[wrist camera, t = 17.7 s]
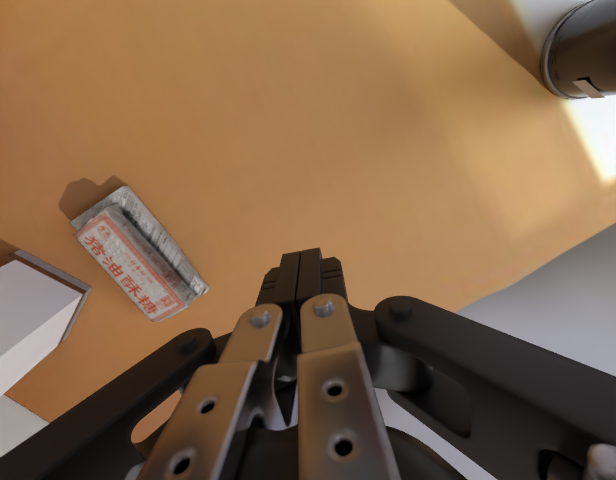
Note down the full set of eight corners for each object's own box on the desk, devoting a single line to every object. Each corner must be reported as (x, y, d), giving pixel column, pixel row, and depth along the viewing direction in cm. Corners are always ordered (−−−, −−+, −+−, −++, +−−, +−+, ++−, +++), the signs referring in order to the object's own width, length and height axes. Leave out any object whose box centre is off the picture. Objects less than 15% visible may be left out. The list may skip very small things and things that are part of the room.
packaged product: (201, 305, 41) (145, 335, 43) (212, 286, 46) (161, 314, 47) (105, 190, 35) (46, 231, 37) (129, 182, 40) (74, 219, 42)
